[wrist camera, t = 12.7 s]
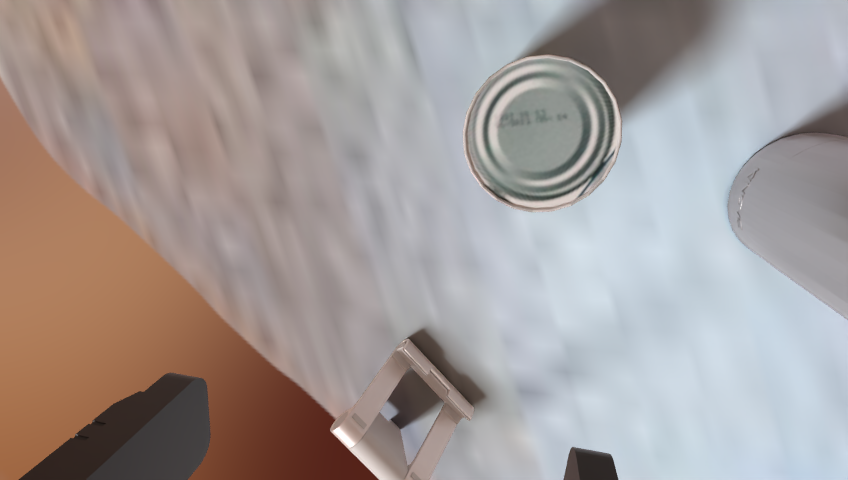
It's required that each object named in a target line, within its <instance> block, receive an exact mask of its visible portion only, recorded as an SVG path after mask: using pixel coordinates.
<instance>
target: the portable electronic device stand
mask: <svg viewBox="0 0 848 480" xmlns="http://www.w3.org/2000/svg"><path fill="white" fill-rule="evenodd" d="M410 366H411V368H412V369H413V370H414V371H415V372H416V373H417V374H418V375H419V376H420V377H421V378H422V379H423V380H424V381H425V382H426V383H427V384H428V385H429V386H430V387H431V389H432V390H433V391H434V392H435V393H436V394H437V395H438V396H439V397H440V398H441V399H442V400H443V401H444V405H443V407H442V409H441V411H440V413H439V415H438V416H437V418H436V420H435V422H434V424H433V426H432V427H431V429H430V431H429V433H428V435H427V437H426V438H425V440H424V442H423V444H422V446H421V448H420V449H419V451H418V453H417V455H416V457H415V459H414V460H413V462H412V463H411V464H410V465H408V466H407V461H406V456H405V451H404V446H403V441H402V436H401V431H400V429H399V427H398V426H397V425H396V424H395V423H394V422H393V421H392V420H389V422H388V421H387V420H386V419H385V418H384V417H383V416H382V414H381V413H380V410H381V409H382V407H383V406H384V404H385V403H386V401H387V400H388V398H389V397H390V395H391V394H392V392H393V390H394V389H395V387H396V386H397V384H398V383H399V381H400V380H401V378H402V377H403V375H404V374H405V372H406V371H407V370H408V369H409V368H410ZM473 413H474V407H473V406H472V405H471V404H470V403H469V402H468V401H467V400H466V399H465V398H464V397H463V396H462V395H461V394H460V393H459V392H458V390H457V389H456V388H455V387H454V386H453V385H452V384H451V383H450V382H449V381H448V380H447V379H446V378H445V377H444V376H443V375H442V374H441V372H440V371H439V370H438V369H437V368H436V367H435V366H434V365H433V364H432V363H431V362H430V361H429V360H428V359H427V358H426V357H425V356H424V354H423V353H422V352H421V351H420V350H419V349H418V348H417V347H416V346H415V345H414V344H413V343H412V342H411V341H410V340H409V339H405V340H404V341H402V342H401V343H400V344H399V345H398V346H397V347H396V348H395V350H394V351H393V353H392V354H391V355H390V357H389V358H388V360H387V361H386V362H385V364H384V365H383V367H382V368H381V369H380V371H379V372H378V374H377V375H376V376H375V378H374V379H373V381H372V382H371V383H370V385H369V386H368V388H367V389H366V390H365V392H364V393H363V395H362V396H361V397H360V399H359V400H358V401H357V403H356V404H355V405H354V406H353V407H352V408H350V409H348V410H346V411H345V412H343V413H342V414H341V415H340V416H339V417H338V418H337V419H336V421H335V422H334V423H333V425H332V427H331V429H330V431H331V432H332V433H333V434H334V435H335V436H336V437H337V438H338V439H339V440H340V441H341V442H342V443H343V444H344V445H345V446H346V447H347V448H348V449H349V450H350V451H351V452H352V453H353V454H354V455H355V456H356V457H357V458H358V459H359V460H360V461H361V462H362V463H363V464H364V465H365V466H366V467H367V468H368V469H369V470H370V471H371V472H372V473H373V474H374V475H375V476H376V477H377V478H379V480H429V479H430V477H431V475H432V473H433V471H434V469H435V467H436V465H437V463H438V461H439V459H440V457H441V455H442V453H443V451H444V449H445V448H446V446H447V444H448V442H449V440H450V438H451V436H452V434H453V432H454V430H455V428H456V426H457V424H458V423H459V421H460V420H461V418H463V417H465V418H466V419H467V420H468V421H470V420H471V419H472V417H473Z"/></svg>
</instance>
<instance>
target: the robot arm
mask: <svg viewBox="0 0 848 480" xmlns="http://www.w3.org/2000/svg"><path fill="white" fill-rule="evenodd" d="M727 207H728V217H729V221H730V224H731V227H732V230H733V231H734V233H735V234H736V236H737V237H738V239H739V240H740V241H741V242H742V243H743V244H744V245H745V246H746V247H747V248H748V249H750V250H751V251H752V252H754V253H755V254H757V255H758V256H759V257H761V258H762V259H764V260H765V261H766V262H768V263H769V264H770V265H772V266H773V267H774V268H776V269H777V270H778V271H780V272H781V273H783V274H784V275H785V276H787V277H788V278H790V279H791V280H792V281H794V282H795V283H797V284H798V285H799V286H801V287H802V288H804V289H805V290H806V291H808V292H809V293H811V294H812V295H813V296H815V297H816V298H818V299H819V300H820V301H822V302H823V303H825V304H826V305H827V306H829V307H830V308H832V309H833V310H834V311H836V312H837V313H839V314H840V315H841V316H843V317H844V318H846V319H847V320H848V137H846V136H840V135H834V134H828V133H816V132H811V133H802V134H796V135H792V136H789V137H785V138H782V139H780V140H778V141H776V142H774V143H772V144H770V145H768V146H766V147H764V148H763V149H762V150H760V151H759V152H758V153H756V154H755V155H754V156H752V158H751V159H750V160H749V161H748V162H747V163H746V164H745V165H744V166H743V167H742V169H741V170H740V172H739V173H738V175H737V176H736V178H735V180H734V182H733V185H732V187H731V190H730V192H729V199H728V206H727ZM209 443H210V421H209V407H208V394H207V385H206V382H205V381H204V379H202V378H198V377H192V376H187V375H181V374H176V373H168V374H165V375H164V376H163V377H161V378H160V379H159V380H158V381H156V382H155V383H154V384H153V385H152V386H150V387H149V388H148V389H147V390H146V391H145V392H141V391H140V392H137V393H135V394H134V395H131V396H129V397H127V398H125V399H123V400H121V401H119V402H117V403H115V404H113V405H112V406H110V407H109V408H108V409H107V410H105V411H104V412H103V413H102V414H100V415H99V416H98V417H97V418H95V419H94V420H93V422H92V424H88V425H87V426H85V427H84V428H83V429H82V430H80V431H79V432H78V433H77V434H75V437H74V438H70V439H69V440H68V441H67V442H65V443H64V444H63V445H62V446H60V447H59V448H58V449H56V450H55V451H54V452H53V453H51V454H50V455H49V456H48V457H46V458H45V459H44V460H43V461H42V462H40V463H39V464H38V465H36V466H35V467H34V468H33V469H31V470H30V471H29V472H28V473H26V474H25V475H24V476H23V477H21V478H20V479H19V480H188V478H189V477H190V476H191V475H192V474H193V472H194V471H195V470H196V469H197V467H198V466H199V465H200V464H201V462H202V461H203V458H204V457H205V455H206V453H207V450H208V447H209ZM564 480H618V477H617V473H616V469H615V465H614V461H613V458H612V456H611V454H608V453H602V452H597V451H592V450H586V449H581V448H575V447H572V448H571V450H570V453H569V457H568V461H567V466H566V471H565V476H564Z"/></svg>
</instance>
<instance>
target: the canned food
mask: <svg viewBox="0 0 848 480" xmlns="http://www.w3.org/2000/svg"><path fill="white" fill-rule="evenodd" d="M621 138H622V119H621V115H620V111H619V107H618V103H617V100H616V98H615V96H614V95H613V93H612V91H611V90H610V88H609V86H608V85H607V83H606V81H604V80H603V79H602V78H601V77H600V76H599V75H598V74H597V73H596V72H595V71H593V70H592V69H591V68H590V67H588V66H586V65H584V64H582V63H580V62H578V61H576V60H574V59H572V58H568V57H562V56H557V55H551V54H547V55H537V56H528V57H525V58H522V59H520V60H517V61H515V62H512V63H509V64H507V65H506V66H504V67H503V68H501V69H500V70H499V71H497V72H496V73H494V74H493V75H492V76H490V77H489V78H488V79H487V81H486V82H485V83H484V84H483V85H482V87H481V88H480V89H479V90H478V91H477V93H476V94H475V96H474V98H473V100H472V102H471V104H470V107H469V109H468V111H467V113H466V118H465V124H464V129H463V144H464V154H465V157H466V160H467V163H468V166H469V169H470V171H471V173H472V174H473V176H474V177H475V179H476V180H477V182H478V183H479V185H480V186H481V188H483V189H484V190H485V191H486V192H487V193H488V194H489V195H491V196H492V197H493V198H494V199H495V200H497V201H499V202H501V203H503V204H505V205H507V206H509V207H511V208H513V209H518V210H523V211H528V212H549V211H555V210H558V209H562V208H565V207H568V206H572V205H573V204H575V203H577V202H578V201H580V200H582V199H583V198H585V197H587V196H588V195H590V194H591V193H592V192H593V191H594V190H595V189H596V188H597V187H598V186H599V185H600V184H601V183H602V182H603V181H604V180H605V178H606V177H607V175H608V173H609V172H610V170H611V168H612V167H613V165H614V163H615V162H616V158H617V155H618V151H619V148H620V145H621Z"/></svg>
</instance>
